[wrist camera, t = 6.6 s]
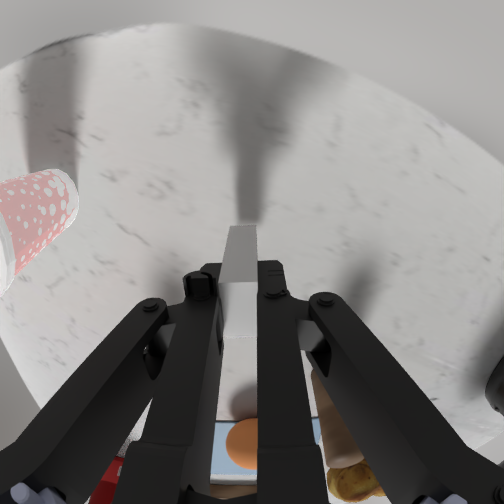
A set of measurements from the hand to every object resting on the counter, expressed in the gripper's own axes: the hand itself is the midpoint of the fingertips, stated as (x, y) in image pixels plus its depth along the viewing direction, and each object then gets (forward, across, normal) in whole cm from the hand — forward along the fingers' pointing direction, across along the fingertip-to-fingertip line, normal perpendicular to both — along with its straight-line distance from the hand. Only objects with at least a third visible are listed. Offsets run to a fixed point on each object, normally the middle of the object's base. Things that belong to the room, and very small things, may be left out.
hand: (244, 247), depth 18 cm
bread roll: (+2, -15, +33) cm, 36 cm away
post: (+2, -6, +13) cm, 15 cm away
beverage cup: (+2, +14, -4) cm, 14 cm away
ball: (-1, 0, +20) cm, 20 cm away
